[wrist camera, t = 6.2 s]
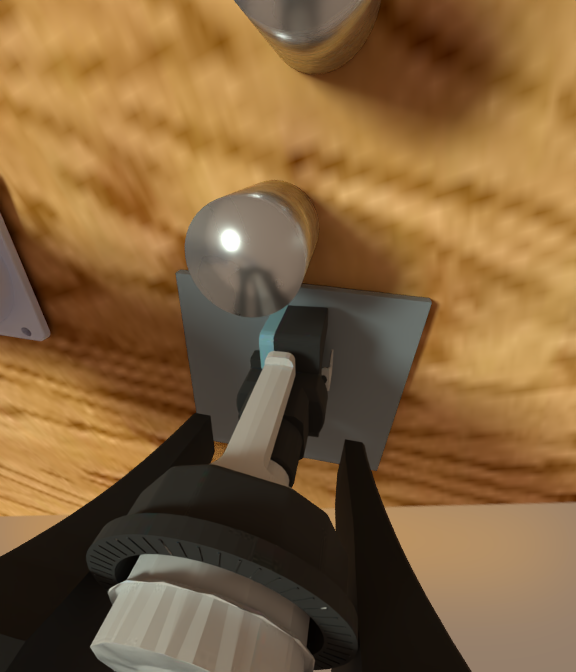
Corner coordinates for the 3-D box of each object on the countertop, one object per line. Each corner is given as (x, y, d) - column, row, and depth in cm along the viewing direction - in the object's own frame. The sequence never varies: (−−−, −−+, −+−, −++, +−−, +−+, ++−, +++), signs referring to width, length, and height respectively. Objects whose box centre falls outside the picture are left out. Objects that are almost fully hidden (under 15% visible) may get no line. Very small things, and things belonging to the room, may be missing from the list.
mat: (203, 432, 18) (200, 438, 18) (180, 269, 13) (175, 272, 13) (376, 464, 17) (376, 470, 17) (429, 298, 12) (432, 302, 11)
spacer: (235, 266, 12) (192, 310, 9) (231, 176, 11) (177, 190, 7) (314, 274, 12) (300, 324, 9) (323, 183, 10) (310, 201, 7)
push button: (354, 424, 15) (341, 775, 7) (249, 411, 16) (123, 699, 8) (367, 299, 12) (377, 699, 3) (233, 291, 13) (-26, 578, 4)
